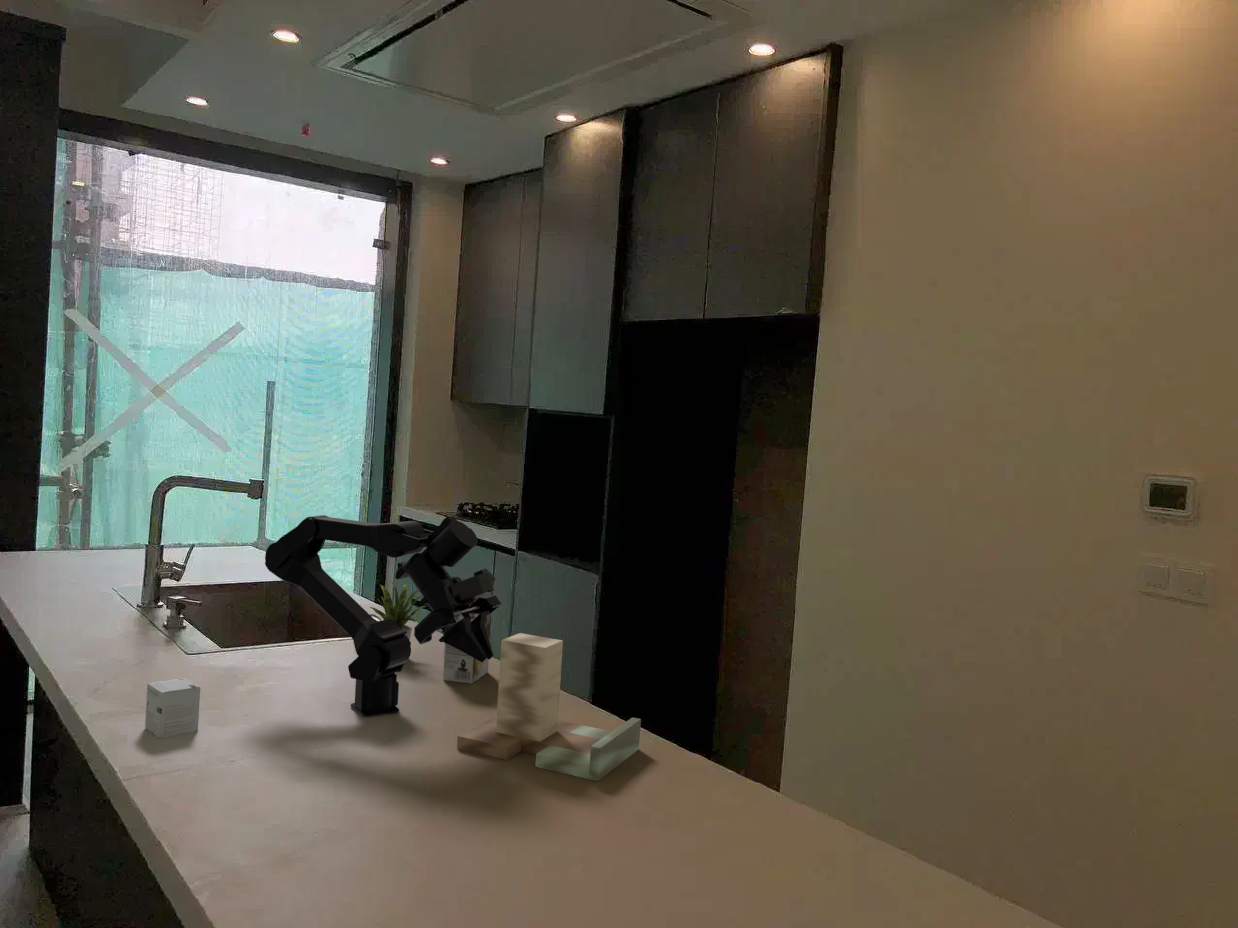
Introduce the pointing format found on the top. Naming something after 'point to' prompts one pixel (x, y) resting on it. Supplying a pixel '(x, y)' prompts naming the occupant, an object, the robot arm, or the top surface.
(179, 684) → the skincare box
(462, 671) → the coffee box
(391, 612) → the house plant
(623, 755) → the trap runway
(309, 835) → the top surface
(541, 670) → the beech block
